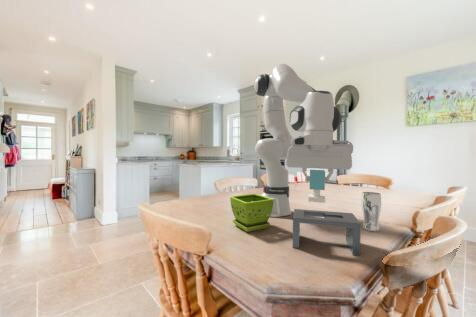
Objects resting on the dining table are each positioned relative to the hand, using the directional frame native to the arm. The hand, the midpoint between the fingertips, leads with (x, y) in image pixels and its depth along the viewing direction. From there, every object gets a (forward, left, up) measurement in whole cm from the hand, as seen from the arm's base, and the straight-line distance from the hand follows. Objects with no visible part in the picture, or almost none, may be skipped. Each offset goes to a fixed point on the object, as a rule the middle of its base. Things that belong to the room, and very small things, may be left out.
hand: (316, 182), depth 73 cm
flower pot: (-25, +13, -22) cm, 36 cm away
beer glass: (+23, +25, -22) cm, 40 cm away
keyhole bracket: (+3, +3, -22) cm, 22 cm away
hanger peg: (0, 0, -6) cm, 6 cm away
